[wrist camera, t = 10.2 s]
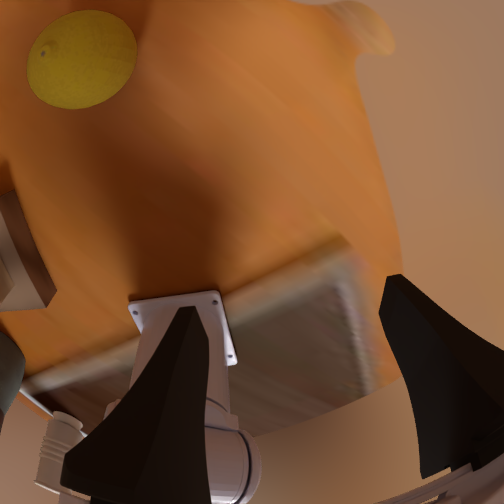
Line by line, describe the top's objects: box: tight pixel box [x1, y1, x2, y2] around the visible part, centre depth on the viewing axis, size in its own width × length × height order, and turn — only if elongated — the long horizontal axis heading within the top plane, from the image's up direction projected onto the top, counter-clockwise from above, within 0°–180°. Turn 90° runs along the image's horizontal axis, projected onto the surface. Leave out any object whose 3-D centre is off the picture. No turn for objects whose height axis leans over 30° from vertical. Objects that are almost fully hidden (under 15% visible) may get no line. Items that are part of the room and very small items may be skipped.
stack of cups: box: [34, 411, 83, 495], centre depth 28 cm, size 7×7×15 cm
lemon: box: [26, 10, 137, 109], centre depth 10 cm, size 6×6×8 cm
